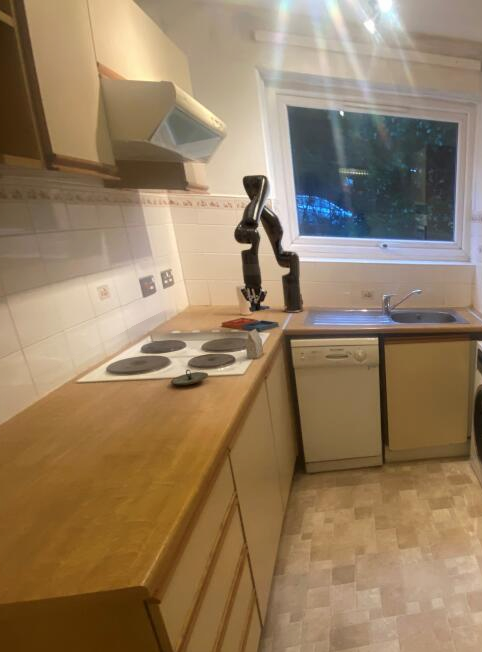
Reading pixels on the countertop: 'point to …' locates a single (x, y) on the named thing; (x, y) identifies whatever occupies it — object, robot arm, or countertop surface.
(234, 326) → the terracotta tray
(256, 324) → the slate tray
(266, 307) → the slate spoon
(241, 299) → the drinking glass
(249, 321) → the terracotta spoon
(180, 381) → the lid
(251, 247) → the robot arm
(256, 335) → the grey stone block
